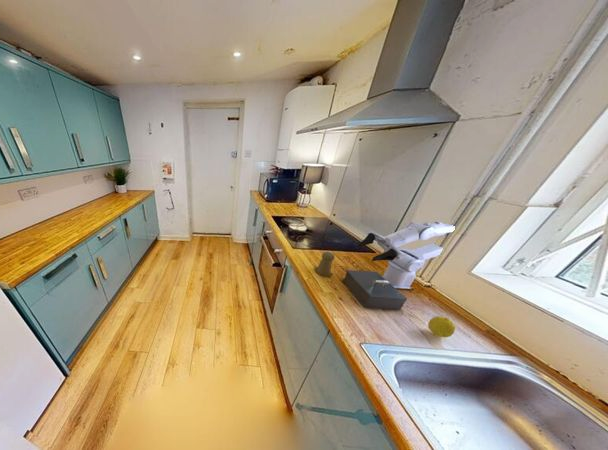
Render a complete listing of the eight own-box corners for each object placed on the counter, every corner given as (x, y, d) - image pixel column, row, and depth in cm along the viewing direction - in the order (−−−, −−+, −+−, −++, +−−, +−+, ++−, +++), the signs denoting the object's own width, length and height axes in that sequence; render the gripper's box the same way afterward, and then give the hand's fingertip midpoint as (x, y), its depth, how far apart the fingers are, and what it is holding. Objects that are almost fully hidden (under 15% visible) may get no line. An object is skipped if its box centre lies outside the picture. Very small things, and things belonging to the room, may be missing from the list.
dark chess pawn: (331, 276, 94) (338, 257, 90) (318, 275, 95) (324, 255, 91) (327, 269, 100) (333, 250, 95) (314, 267, 101) (320, 249, 96)
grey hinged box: (343, 281, 92) (346, 272, 89) (372, 283, 91) (377, 274, 89) (365, 307, 78) (370, 297, 75) (400, 310, 77) (406, 299, 75)
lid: (345, 271, 90) (348, 263, 88) (375, 272, 90) (379, 265, 88) (370, 297, 75) (374, 289, 74) (406, 299, 75) (411, 291, 73)
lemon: (450, 345, 64) (464, 328, 61) (426, 337, 67) (438, 320, 63) (443, 332, 68) (455, 316, 65) (421, 325, 71) (432, 308, 68)
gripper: (384, 222, 84) (353, 234, 84) (418, 246, 73) (383, 260, 74) (379, 232, 88) (350, 244, 89) (411, 256, 78) (378, 270, 79)
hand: (365, 252), depth 82 cm, fingers open, 7 cm apart
